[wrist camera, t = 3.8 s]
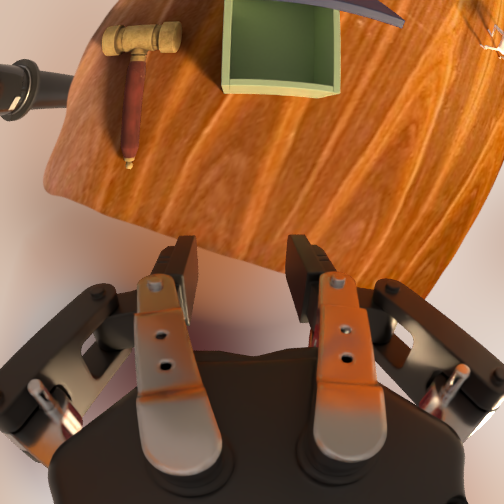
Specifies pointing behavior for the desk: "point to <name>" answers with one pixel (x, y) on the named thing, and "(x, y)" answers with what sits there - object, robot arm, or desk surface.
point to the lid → (358, 9)
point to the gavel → (138, 70)
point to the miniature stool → (503, 44)
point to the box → (280, 49)
